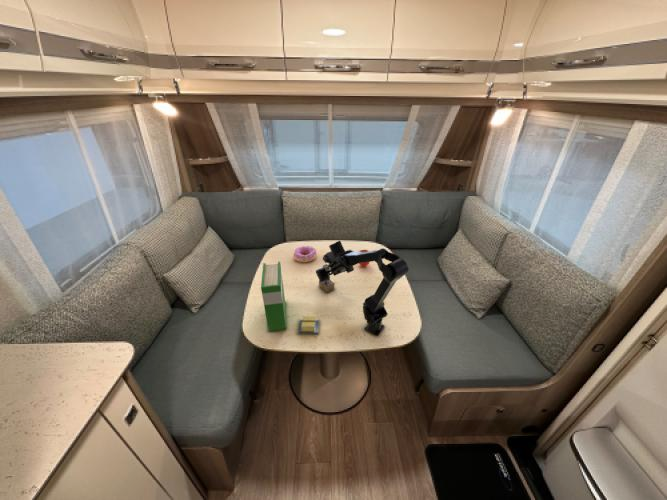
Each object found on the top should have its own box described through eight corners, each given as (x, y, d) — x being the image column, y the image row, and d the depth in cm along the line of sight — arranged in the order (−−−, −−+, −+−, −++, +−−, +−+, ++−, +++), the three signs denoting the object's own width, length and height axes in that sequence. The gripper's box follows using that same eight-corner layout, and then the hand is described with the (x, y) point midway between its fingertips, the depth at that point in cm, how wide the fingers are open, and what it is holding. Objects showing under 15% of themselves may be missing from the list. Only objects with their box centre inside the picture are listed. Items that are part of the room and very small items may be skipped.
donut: (292, 253, 172) (291, 246, 169) (313, 250, 176) (313, 243, 173) (296, 265, 160) (295, 258, 158) (319, 261, 164) (319, 254, 161)
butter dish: (319, 321, 120) (318, 315, 119) (317, 333, 114) (317, 327, 112) (300, 321, 121) (300, 315, 119) (298, 333, 114) (297, 327, 113)
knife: (330, 288, 141) (330, 266, 134) (326, 290, 140) (326, 268, 133) (326, 285, 143) (326, 263, 136) (323, 287, 142) (322, 265, 135)
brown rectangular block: (334, 289, 140) (334, 283, 138) (326, 292, 138) (326, 286, 136) (326, 282, 145) (326, 276, 143) (319, 286, 143) (318, 280, 141)
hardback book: (270, 304, 131) (263, 263, 119) (285, 302, 132) (280, 261, 120) (268, 331, 116) (260, 287, 104) (285, 329, 117) (280, 285, 105)
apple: (361, 260, 164) (362, 245, 159) (373, 265, 160) (374, 250, 154) (353, 266, 159) (354, 251, 153) (365, 272, 154) (366, 256, 148)
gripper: (349, 243, 129) (335, 253, 142) (317, 256, 119) (305, 265, 132) (359, 264, 127) (344, 272, 140) (327, 278, 118) (314, 286, 131)
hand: (327, 273), depth 136 cm, fingers open, 9 cm apart
